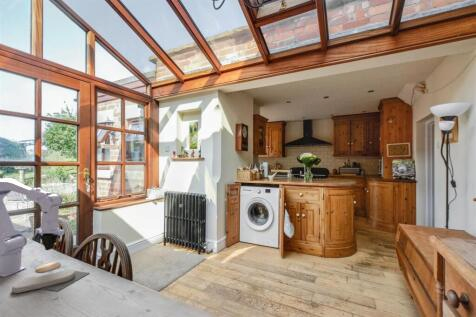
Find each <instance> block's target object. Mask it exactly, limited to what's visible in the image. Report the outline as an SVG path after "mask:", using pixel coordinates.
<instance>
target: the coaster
mask: <svg viewBox="0 0 476 317" xmlns="http://www.w3.org/2000/svg"><path fill="white" fill-rule="evenodd" d="M59 267H61V262H58V261H54V262H53V261H52V262H48V263H44V264H42V265H39V266H38V267H36V268H35V271H34V272H35V273H46V272H51V271H54V270H56V269H58V268H59Z"/></svg>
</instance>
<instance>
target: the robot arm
mask: <svg viewBox="0 0 476 317" xmlns="http://www.w3.org/2000/svg"><path fill="white" fill-rule="evenodd" d="M11 192H14V193H15V192H16V193H17V194H22V195H24V196H26V199H27V200H30V201H31V202H35V203H37V204H38V205H39V206H40V208H41V210H40V211H41V212H42V213H41V214H42V215H41V227H39V228H35V231H34V232H35V234H40V235H39V239H40V240H41V241H42V244H43V247H44V249H45V251H50V250H52V249H53V248H54V245H55V242H56V240H57V238H58V237H60V236H63V235H65V229H61V228H59V215H60V214H59V213H60V211H59V210H60V205H61V204H62V203H63V197H62V195H61V194H59V193H53V194H52V193H51V192H50V191H45V190H43V189H42V188H41V187H33V188H31V187H30V186H27V185H25V184H23V183H21V182H19V181H18V180H17V179H14V178H12V177H7V178H0V277H3V278H5V277H8V276H10V275H12V274H16V273H18V272H20V271H23V270H25V269H27V267H26V266H22V251H23V250H24V247H25V246H26V245H27V243H28V239H27V237H26V236H25V235H24V233H23V232H22V231H21V230H18V229H15V227H14V224H13V222H12V218H11V217H10V214H9V212H8V209H7V207H6V205H5V203H4V198H5V197H6V196H8V195H9V194H10V193H11Z"/></svg>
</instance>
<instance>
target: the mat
mask: <svg viewBox="0 0 476 317" xmlns="http://www.w3.org/2000/svg"><path fill="white" fill-rule="evenodd" d="M89 274H90V272H86V271H79V270H75V276H74V277H73V278H72V279H70V280H68V281H66V282H63V283H59V284H55V285H51V286H46V287H42V288H38V289H40V290H43V291H44V290H45V291H50V292H59V291H61V290H63V289H64V288H66V287H67V286H70V285H72V284H73V283H75V282H77V281H78V280H80V279H83V278H84V277H86V276H88V275H89ZM38 289H37V290H38Z"/></svg>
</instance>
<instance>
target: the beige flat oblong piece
mask: <svg viewBox="0 0 476 317" xmlns="http://www.w3.org/2000/svg"><path fill="white" fill-rule="evenodd" d="M75 271H76V269H71V268H68V269H63V270H59V271H57V272H52V273H49V274H44V275H39V276H31V277H26V278H23V279H20V280H17V281H16V282H14V283H13V284H12V285H11V292H12V293H14V294H18V293H25V292H29V291H33V290H38V288H42V287H46V286H51V285H55V284H59V283H63V282H66V281H68V280H70V279H72V278H73V277H74V276H75Z"/></svg>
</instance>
